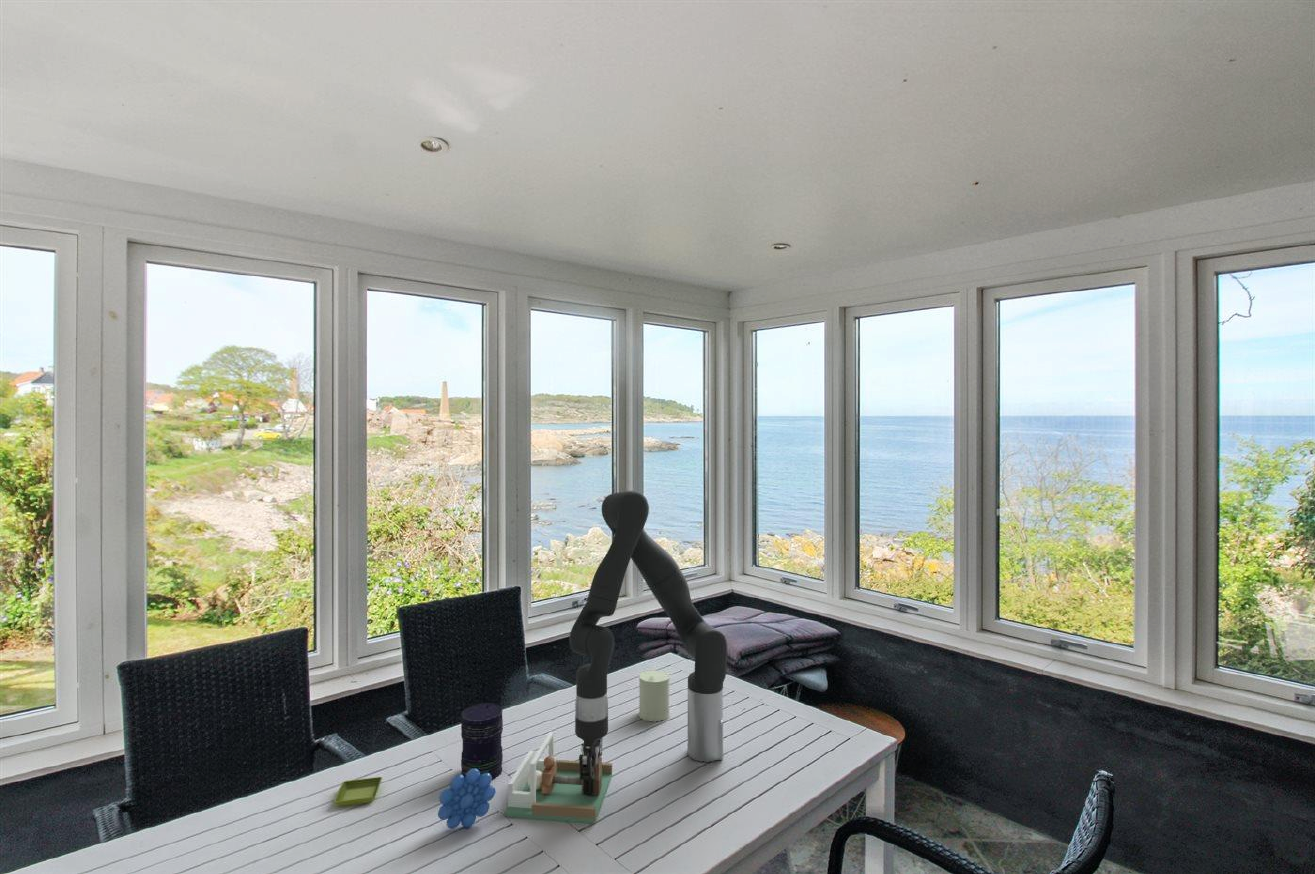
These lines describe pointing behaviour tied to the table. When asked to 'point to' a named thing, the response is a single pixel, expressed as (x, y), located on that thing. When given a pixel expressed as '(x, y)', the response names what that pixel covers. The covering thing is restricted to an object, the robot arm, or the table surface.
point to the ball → (537, 780)
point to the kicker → (567, 777)
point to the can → (654, 695)
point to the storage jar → (482, 739)
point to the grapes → (466, 799)
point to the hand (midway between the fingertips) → (591, 786)
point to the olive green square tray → (357, 791)
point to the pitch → (553, 791)
